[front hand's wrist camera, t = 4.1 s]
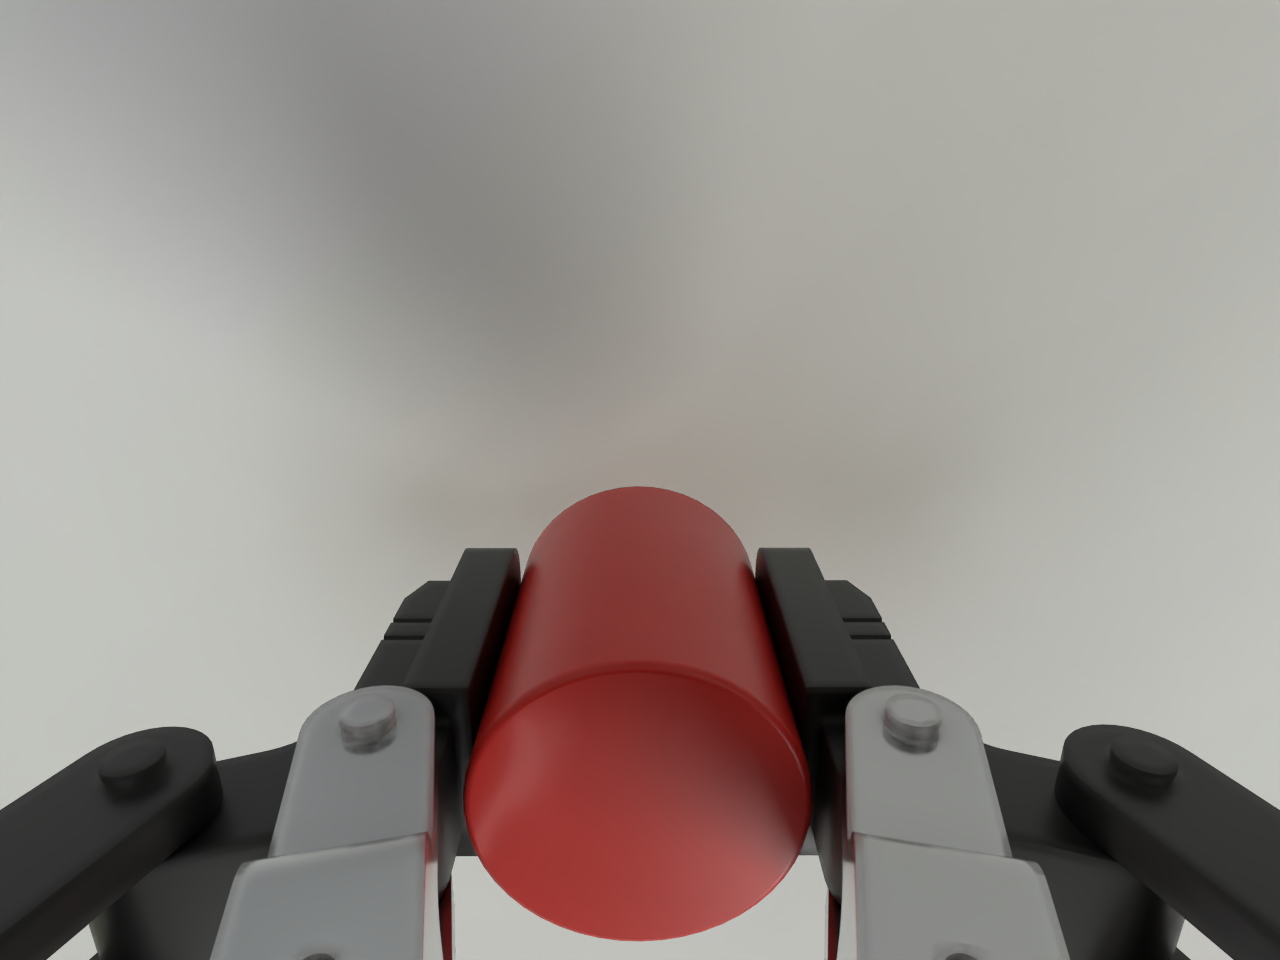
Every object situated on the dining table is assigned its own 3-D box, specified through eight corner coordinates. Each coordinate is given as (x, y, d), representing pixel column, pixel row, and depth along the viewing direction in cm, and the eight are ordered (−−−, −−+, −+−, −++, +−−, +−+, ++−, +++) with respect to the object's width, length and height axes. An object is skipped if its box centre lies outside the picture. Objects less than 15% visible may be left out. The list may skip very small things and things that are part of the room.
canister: (504, 662, 13) (435, 912, 9) (549, 459, 12) (495, 629, 7) (717, 707, 13) (755, 970, 9) (783, 514, 12) (863, 708, 8)
